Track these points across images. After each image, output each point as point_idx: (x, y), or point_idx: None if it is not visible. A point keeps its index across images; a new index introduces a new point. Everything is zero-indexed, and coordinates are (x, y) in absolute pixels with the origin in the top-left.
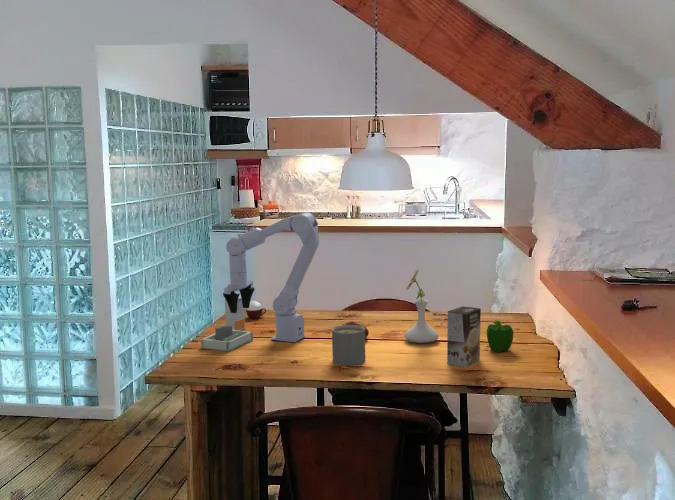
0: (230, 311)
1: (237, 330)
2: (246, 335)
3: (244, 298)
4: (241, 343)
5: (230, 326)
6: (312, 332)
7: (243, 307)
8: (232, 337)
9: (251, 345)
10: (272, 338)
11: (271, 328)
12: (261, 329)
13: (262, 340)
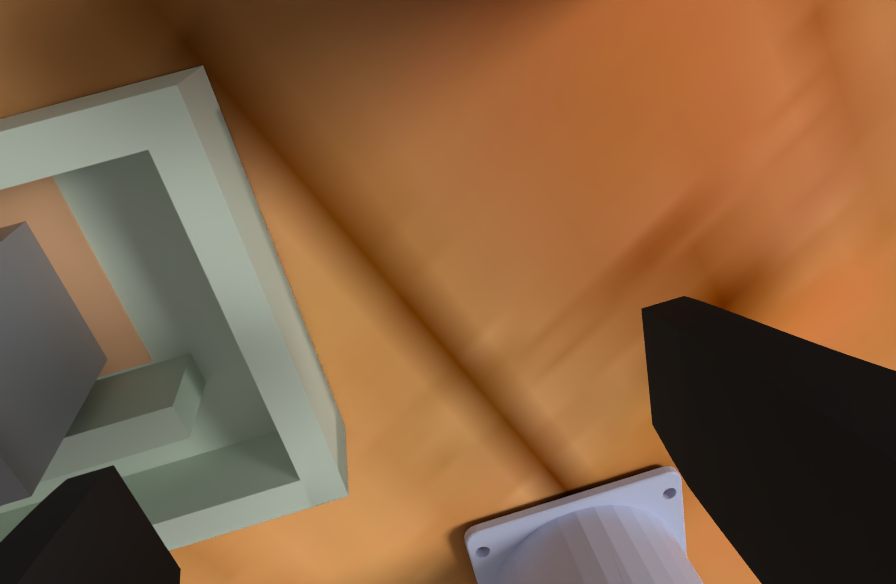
0: (41, 513)
1: (254, 318)
2: (217, 527)
3: (838, 537)
4: None
5: (3, 485)
6: None
7: (648, 323)
8: None
9: (217, 537)
10: (472, 550)
11: (824, 217)
12: (747, 155)
13: (408, 484)
